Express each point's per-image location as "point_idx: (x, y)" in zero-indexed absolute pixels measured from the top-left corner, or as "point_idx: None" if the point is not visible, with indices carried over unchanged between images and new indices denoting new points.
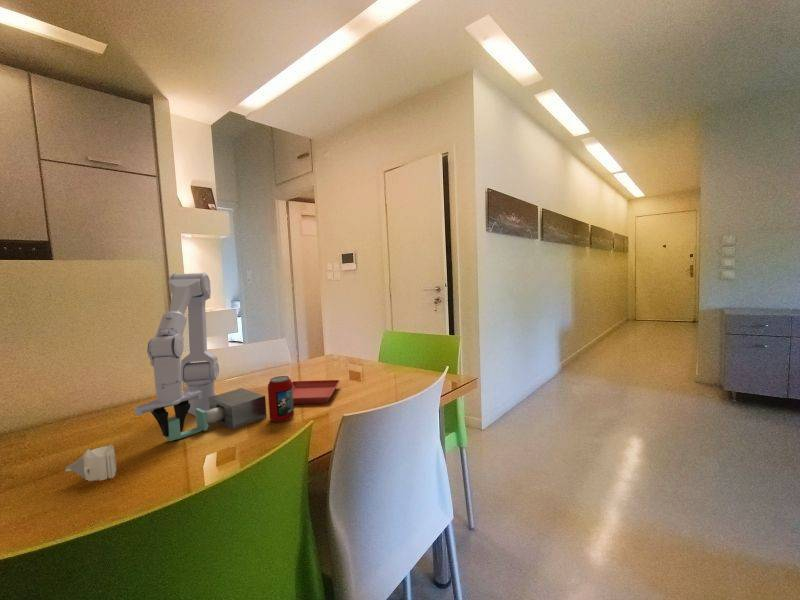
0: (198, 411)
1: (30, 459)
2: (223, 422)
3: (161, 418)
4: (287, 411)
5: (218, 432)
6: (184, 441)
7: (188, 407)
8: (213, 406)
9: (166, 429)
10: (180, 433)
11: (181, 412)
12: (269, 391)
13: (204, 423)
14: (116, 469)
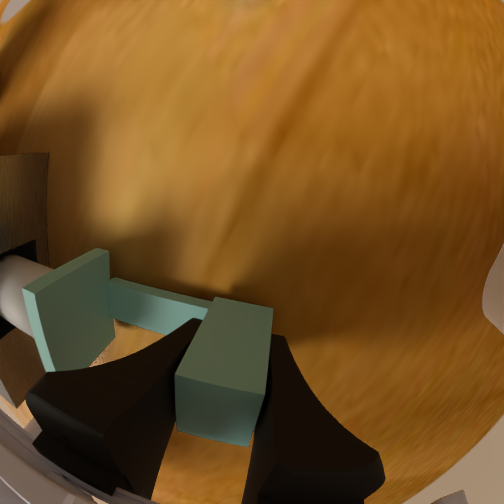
0: (55, 356)
1: (425, 477)
2: (39, 250)
3: (337, 433)
4: None
5: (83, 186)
6: (218, 255)
7: (54, 379)
8: (21, 358)
9: (284, 359)
10: (209, 308)
11: (134, 394)
12: None
13: (81, 264)
14: (490, 269)
